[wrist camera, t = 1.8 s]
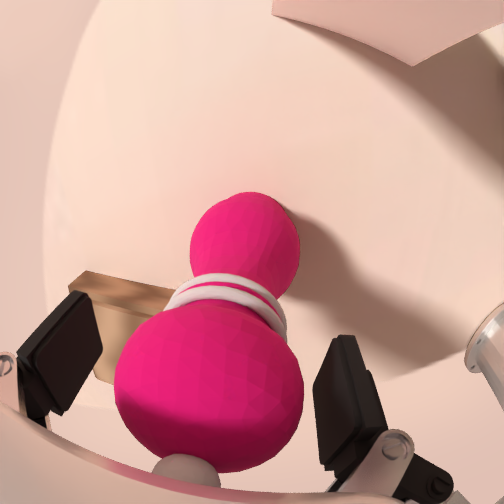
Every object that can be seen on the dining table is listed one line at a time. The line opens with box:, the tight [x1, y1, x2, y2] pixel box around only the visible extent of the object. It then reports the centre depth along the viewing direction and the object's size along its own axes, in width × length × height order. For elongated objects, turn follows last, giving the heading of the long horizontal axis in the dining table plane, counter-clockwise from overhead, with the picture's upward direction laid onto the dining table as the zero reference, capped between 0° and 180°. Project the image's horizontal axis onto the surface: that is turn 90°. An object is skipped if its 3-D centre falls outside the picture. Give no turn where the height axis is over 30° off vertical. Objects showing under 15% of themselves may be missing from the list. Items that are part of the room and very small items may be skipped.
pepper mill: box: [114, 192, 304, 488], centre depth 13 cm, size 7×7×20 cm
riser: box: [68, 271, 176, 385], centre depth 26 cm, size 14×14×4 cm
